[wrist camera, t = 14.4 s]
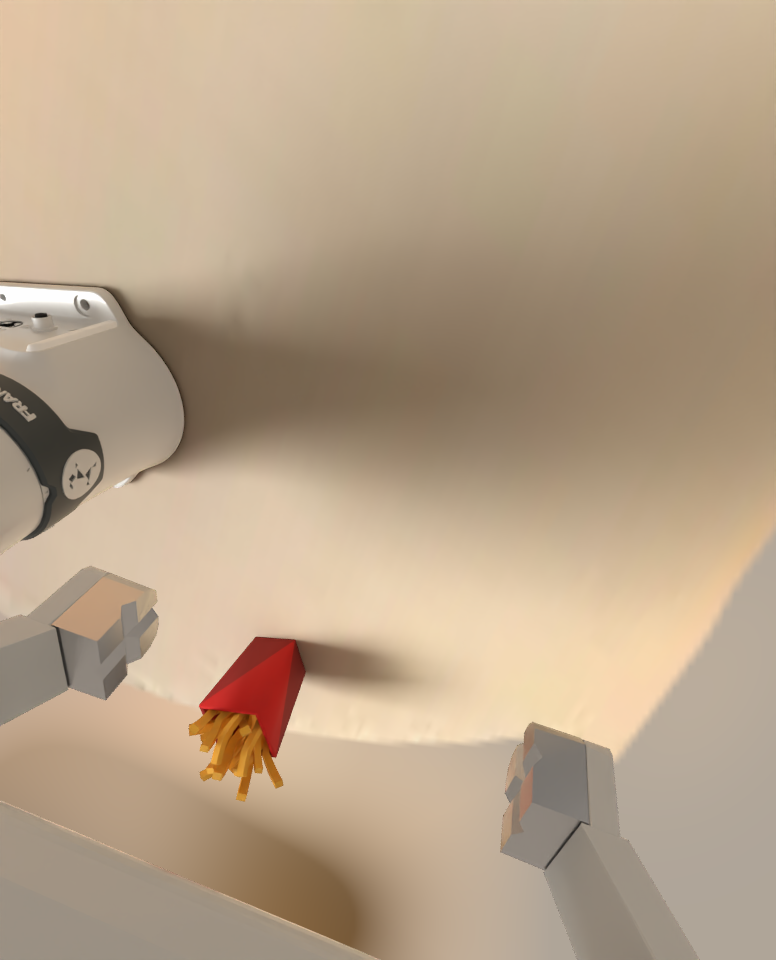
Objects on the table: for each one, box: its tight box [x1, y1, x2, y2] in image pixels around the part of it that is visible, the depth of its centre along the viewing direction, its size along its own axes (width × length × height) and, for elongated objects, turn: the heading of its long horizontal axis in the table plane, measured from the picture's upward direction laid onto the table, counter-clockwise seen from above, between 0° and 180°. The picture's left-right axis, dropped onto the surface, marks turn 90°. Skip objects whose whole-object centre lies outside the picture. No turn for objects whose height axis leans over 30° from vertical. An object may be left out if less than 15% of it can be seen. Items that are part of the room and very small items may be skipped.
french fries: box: [189, 637, 306, 801], centre depth 54 cm, size 9×8×15 cm
